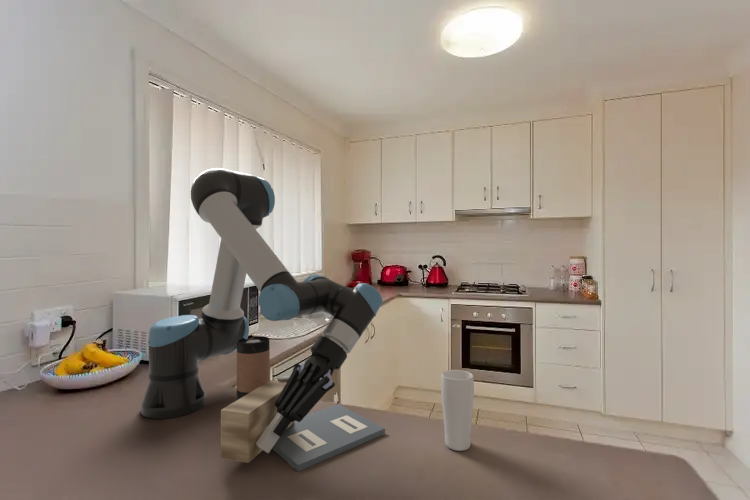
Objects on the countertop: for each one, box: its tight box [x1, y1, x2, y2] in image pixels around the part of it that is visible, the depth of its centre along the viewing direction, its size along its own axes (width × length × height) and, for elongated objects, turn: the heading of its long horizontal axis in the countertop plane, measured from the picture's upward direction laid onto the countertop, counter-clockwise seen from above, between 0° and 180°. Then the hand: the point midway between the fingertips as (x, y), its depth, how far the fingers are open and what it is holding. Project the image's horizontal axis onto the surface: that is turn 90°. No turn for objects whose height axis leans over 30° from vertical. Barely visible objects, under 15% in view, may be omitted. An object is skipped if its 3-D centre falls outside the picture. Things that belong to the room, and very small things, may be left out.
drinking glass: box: [440, 369, 475, 452], centre depth 79 cm, size 7×7×15 cm
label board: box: [271, 403, 386, 472], centre depth 84 cm, size 19×22×2 cm
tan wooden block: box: [220, 375, 294, 464], centre depth 79 cm, size 20×6×9 cm, turn 164°
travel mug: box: [236, 335, 271, 401], centre depth 90 cm, size 8×8×20 cm
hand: (261, 448), depth 70 cm, fingers closed
